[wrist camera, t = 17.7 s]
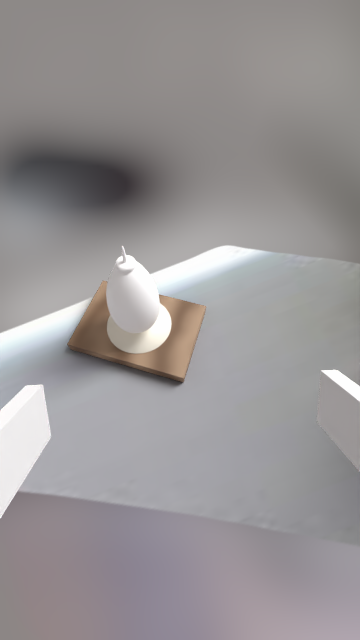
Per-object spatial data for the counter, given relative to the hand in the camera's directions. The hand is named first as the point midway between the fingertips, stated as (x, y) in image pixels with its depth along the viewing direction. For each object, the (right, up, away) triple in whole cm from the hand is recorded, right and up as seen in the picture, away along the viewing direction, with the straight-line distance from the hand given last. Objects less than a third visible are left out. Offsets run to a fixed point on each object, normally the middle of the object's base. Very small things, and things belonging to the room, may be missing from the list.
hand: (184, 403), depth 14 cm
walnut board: (-7, +2, +38) cm, 39 cm away
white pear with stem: (-7, +3, +37) cm, 38 cm away
